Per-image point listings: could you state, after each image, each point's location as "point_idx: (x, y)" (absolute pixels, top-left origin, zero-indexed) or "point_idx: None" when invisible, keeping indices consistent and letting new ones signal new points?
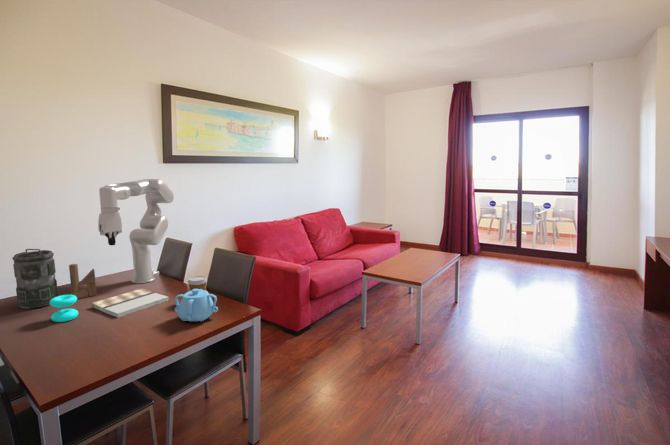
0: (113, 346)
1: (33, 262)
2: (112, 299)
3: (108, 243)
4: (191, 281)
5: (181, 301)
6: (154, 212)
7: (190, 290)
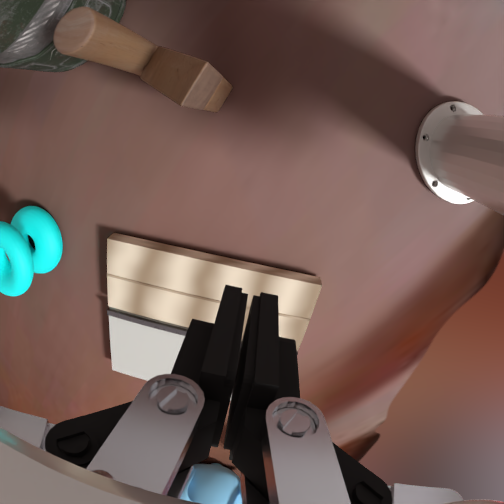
0: (62, 417)
1: None
2: (167, 277)
3: (193, 320)
4: None
5: None
6: None
7: None
